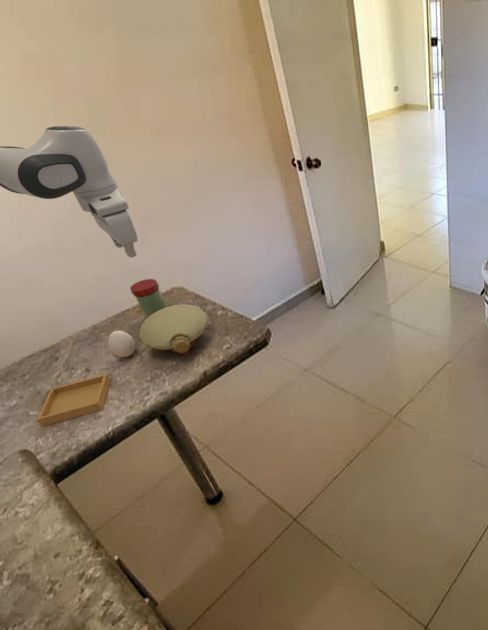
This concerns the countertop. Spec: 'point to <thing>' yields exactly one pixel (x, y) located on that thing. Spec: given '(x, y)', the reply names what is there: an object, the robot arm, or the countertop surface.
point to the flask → (174, 328)
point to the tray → (74, 400)
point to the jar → (151, 303)
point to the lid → (144, 287)
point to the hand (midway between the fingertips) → (126, 251)
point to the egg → (121, 343)
